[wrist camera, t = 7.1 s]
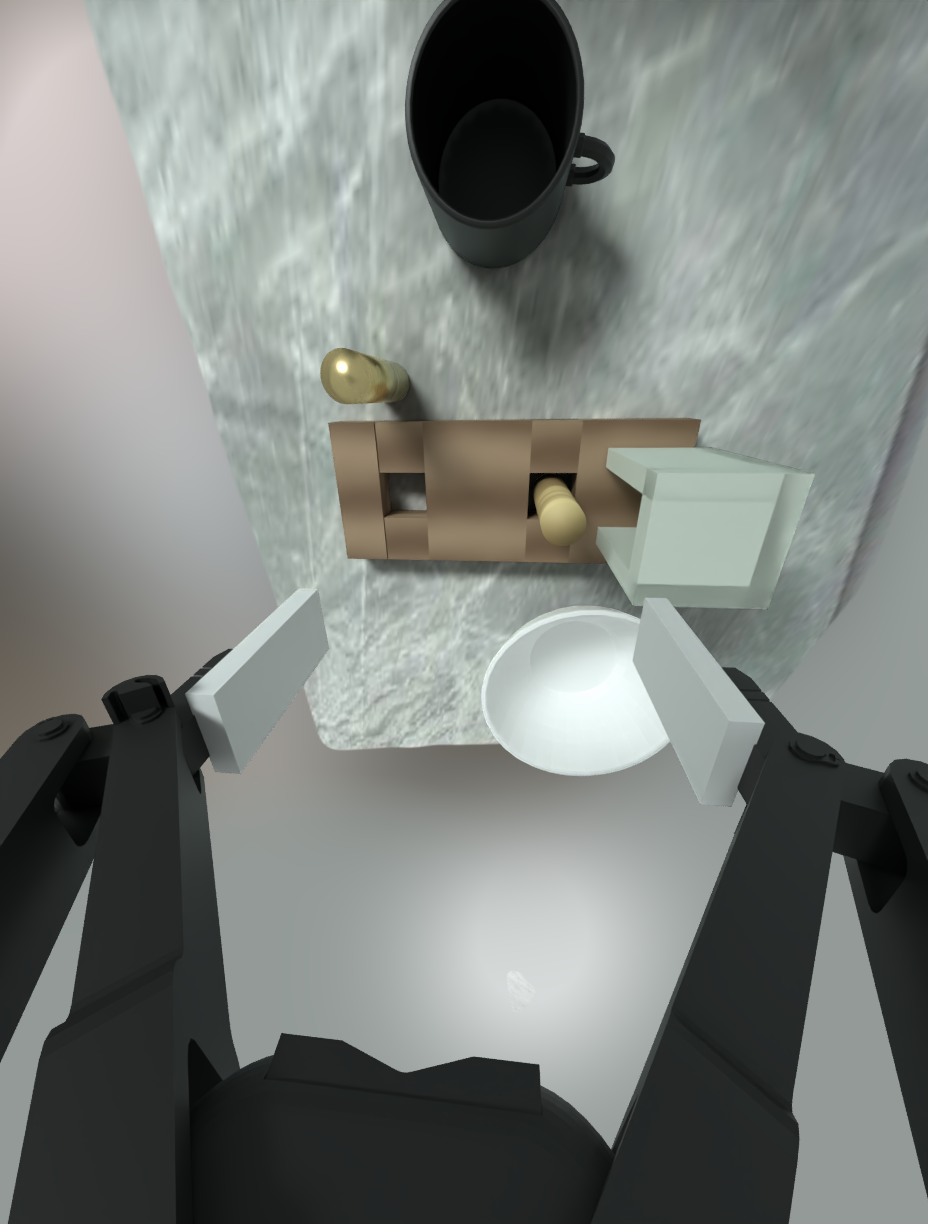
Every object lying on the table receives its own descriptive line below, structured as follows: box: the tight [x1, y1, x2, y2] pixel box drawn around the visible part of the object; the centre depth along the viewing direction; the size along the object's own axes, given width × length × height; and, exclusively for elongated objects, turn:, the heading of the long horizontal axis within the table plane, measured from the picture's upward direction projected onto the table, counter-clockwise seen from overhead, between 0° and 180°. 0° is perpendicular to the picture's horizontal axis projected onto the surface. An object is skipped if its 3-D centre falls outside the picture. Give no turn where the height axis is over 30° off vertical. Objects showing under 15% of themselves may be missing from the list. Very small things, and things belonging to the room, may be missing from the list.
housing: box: [596, 447, 815, 610], centre depth 30 cm, size 8×8×13 cm
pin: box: [321, 348, 409, 404], centre depth 31 cm, size 3×3×12 cm
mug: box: [405, 0, 615, 268], centre depth 26 cm, size 9×12×9 cm
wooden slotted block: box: [328, 418, 701, 564], centre depth 34 cm, size 12×30×12 cm, turn 91°
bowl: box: [481, 605, 670, 776], centre depth 44 cm, size 20×19×8 cm
